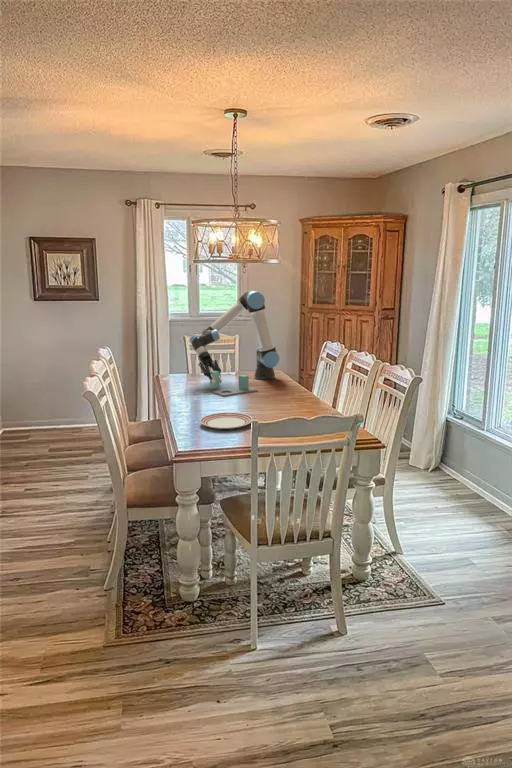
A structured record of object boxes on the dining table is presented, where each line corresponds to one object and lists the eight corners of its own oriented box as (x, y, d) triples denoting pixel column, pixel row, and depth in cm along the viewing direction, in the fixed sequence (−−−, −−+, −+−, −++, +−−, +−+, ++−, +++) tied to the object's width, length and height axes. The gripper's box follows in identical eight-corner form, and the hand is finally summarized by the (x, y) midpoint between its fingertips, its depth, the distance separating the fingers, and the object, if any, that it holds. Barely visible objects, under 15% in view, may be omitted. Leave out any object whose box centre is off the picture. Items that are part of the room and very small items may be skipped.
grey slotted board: (244, 387, 397) (244, 386, 397) (257, 391, 387) (257, 389, 386) (212, 393, 382) (212, 391, 382) (224, 397, 371) (224, 395, 371)
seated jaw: (244, 389, 392) (244, 374, 390) (248, 390, 388) (248, 375, 386) (238, 390, 389) (238, 375, 387) (243, 391, 385) (242, 376, 383)
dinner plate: (240, 435, 292) (240, 428, 291) (190, 429, 302) (190, 423, 301) (260, 421, 317) (260, 414, 316) (214, 416, 327) (213, 410, 326)
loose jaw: (215, 385, 393) (215, 370, 391) (219, 386, 389) (219, 371, 387) (210, 386, 390) (209, 371, 388) (213, 387, 387) (213, 372, 385)
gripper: (212, 356, 403) (226, 383, 394) (190, 359, 393) (204, 387, 384) (216, 349, 398) (231, 377, 389) (193, 352, 388) (208, 381, 378)
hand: (217, 382), depth 386 cm, fingers closed on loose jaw, 5 cm apart
